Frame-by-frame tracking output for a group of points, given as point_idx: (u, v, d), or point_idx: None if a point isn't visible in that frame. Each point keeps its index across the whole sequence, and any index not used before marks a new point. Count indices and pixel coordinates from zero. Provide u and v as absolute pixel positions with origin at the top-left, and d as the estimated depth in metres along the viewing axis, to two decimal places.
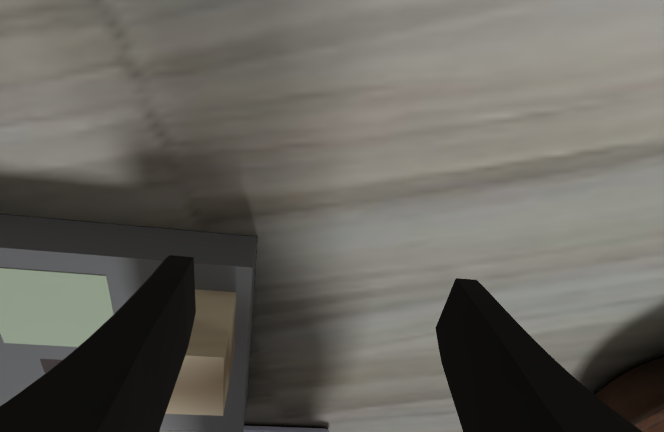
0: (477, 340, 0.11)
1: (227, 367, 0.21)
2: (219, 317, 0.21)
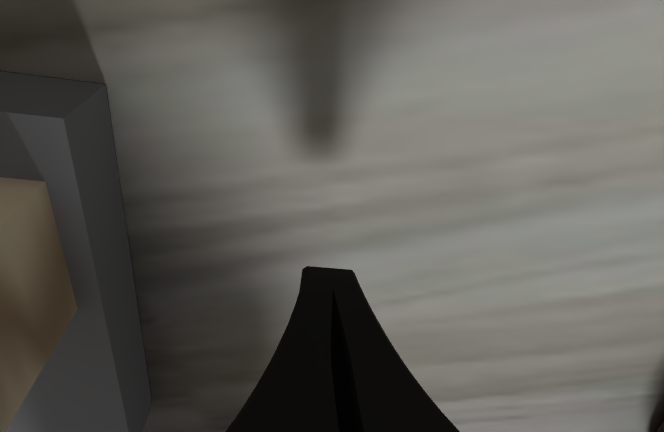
0: (334, 331, 0.10)
1: (8, 333, 0.10)
2: None
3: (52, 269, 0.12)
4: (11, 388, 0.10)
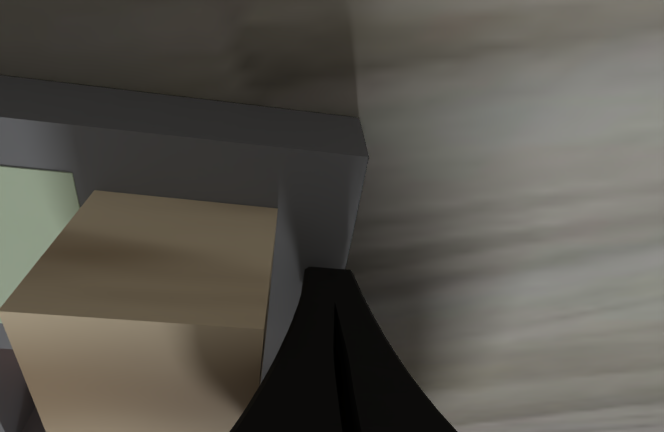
0: None
1: None
2: (248, 249, 0.10)
3: None
4: None
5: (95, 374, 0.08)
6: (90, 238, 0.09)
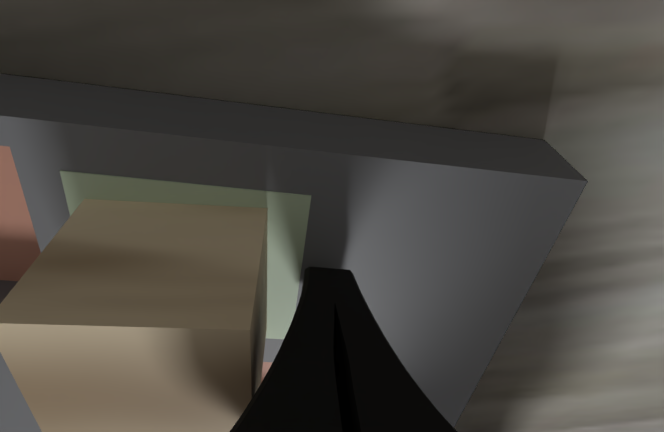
0: None
1: (257, 357, 0.10)
2: (235, 250, 0.10)
3: (265, 291, 0.12)
4: None
5: (88, 381, 0.09)
6: (78, 246, 0.09)
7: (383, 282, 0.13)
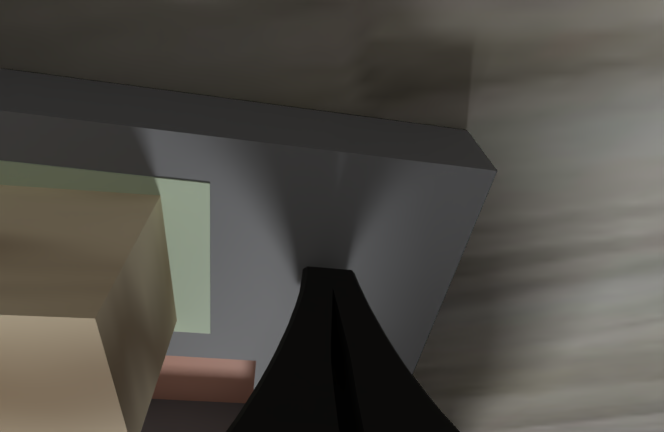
0: (334, 331, 0.10)
1: (138, 349, 0.10)
2: (110, 237, 0.09)
3: (163, 282, 0.12)
4: (139, 403, 0.10)
5: None
6: None
7: (298, 274, 0.12)
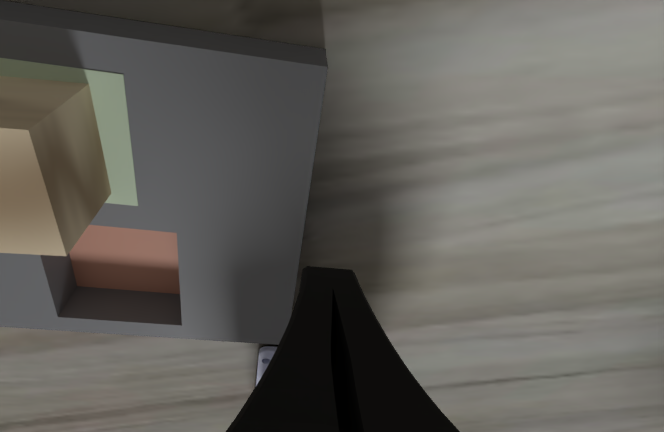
0: (334, 331, 0.10)
1: (69, 182, 0.14)
2: (47, 99, 0.14)
3: (94, 152, 0.16)
4: (71, 224, 0.15)
5: None
6: None
7: (197, 153, 0.17)
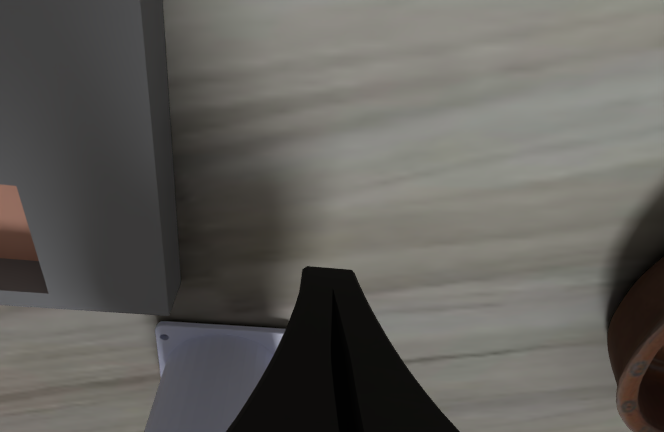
0: (334, 331, 0.10)
1: None
2: None
3: None
4: None
5: None
6: None
7: (16, 91, 0.15)
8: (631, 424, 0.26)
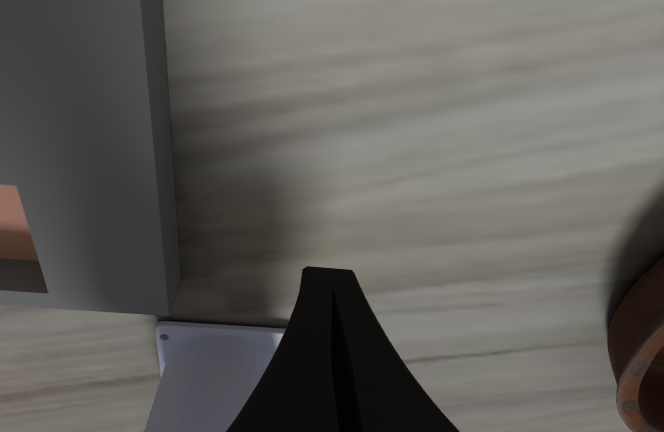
0: (334, 331, 0.10)
1: None
2: None
3: None
4: None
5: None
6: None
7: (16, 91, 0.15)
8: (631, 425, 0.26)
